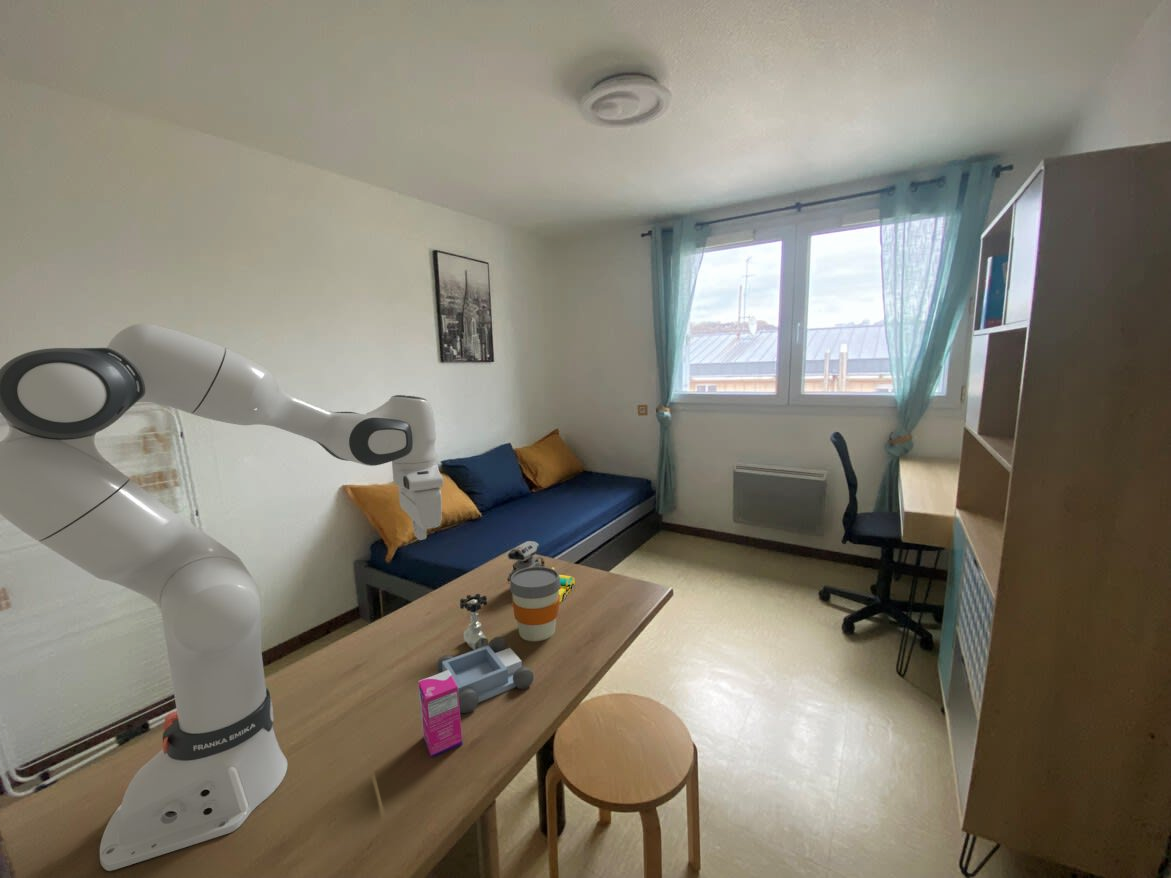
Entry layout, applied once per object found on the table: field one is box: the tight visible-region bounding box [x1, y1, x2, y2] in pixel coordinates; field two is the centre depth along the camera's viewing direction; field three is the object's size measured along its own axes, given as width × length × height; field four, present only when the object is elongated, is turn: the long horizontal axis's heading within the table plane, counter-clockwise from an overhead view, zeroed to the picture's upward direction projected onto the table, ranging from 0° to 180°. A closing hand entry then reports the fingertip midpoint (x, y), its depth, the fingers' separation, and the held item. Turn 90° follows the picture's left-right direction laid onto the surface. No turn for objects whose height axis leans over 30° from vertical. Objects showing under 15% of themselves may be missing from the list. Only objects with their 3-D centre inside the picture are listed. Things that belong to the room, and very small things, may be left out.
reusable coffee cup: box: [509, 566, 561, 642], centre depth 117 cm, size 13×13×15 cm
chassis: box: [435, 636, 534, 714], centre depth 100 cm, size 16×15×4 cm
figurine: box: [507, 540, 546, 582], centre depth 139 cm, size 9×12×15 cm
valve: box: [459, 593, 489, 651], centre depth 112 cm, size 7×7×12 cm
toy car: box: [551, 566, 576, 604], centre depth 137 cm, size 12×8×8 cm, turn 160°
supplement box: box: [417, 670, 464, 758], centre depth 83 cm, size 6×6×12 cm
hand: (420, 537), depth 98 cm, fingers closed
